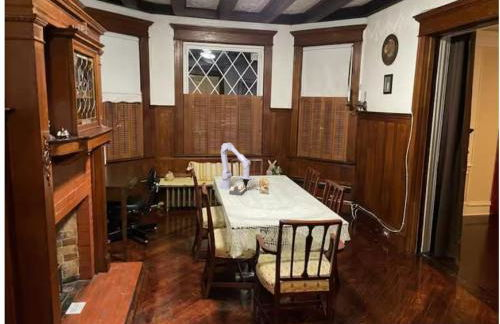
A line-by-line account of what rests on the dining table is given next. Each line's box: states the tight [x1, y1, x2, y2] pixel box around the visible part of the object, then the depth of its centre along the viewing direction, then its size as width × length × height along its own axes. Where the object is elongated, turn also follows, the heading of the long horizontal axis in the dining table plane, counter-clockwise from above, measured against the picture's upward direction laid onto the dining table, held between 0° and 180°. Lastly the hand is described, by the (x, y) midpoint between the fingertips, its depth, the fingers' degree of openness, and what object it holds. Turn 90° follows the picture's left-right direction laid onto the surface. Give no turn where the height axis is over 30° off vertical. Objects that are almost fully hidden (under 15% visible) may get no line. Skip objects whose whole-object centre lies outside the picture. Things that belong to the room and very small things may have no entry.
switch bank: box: [228, 185, 248, 197], centre depth 343 cm, size 11×21×3 cm, turn 166°
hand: (245, 187), depth 348 cm, fingers closed
